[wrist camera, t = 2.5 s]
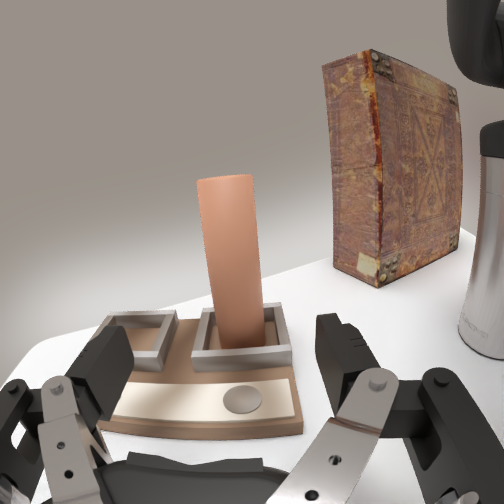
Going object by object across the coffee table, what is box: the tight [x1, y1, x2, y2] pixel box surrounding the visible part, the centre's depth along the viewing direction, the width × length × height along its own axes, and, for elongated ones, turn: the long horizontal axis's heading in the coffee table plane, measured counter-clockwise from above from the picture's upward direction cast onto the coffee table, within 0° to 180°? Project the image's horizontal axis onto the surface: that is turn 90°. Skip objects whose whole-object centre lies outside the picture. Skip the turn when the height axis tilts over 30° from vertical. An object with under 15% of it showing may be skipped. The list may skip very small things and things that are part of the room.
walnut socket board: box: [82, 302, 303, 440], centre depth 22 cm, size 18×14×3 cm
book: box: [322, 49, 463, 288], centre depth 38 cm, size 25×9×30 cm, turn 115°
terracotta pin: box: [196, 174, 266, 350], centre depth 22 cm, size 4×4×14 cm
